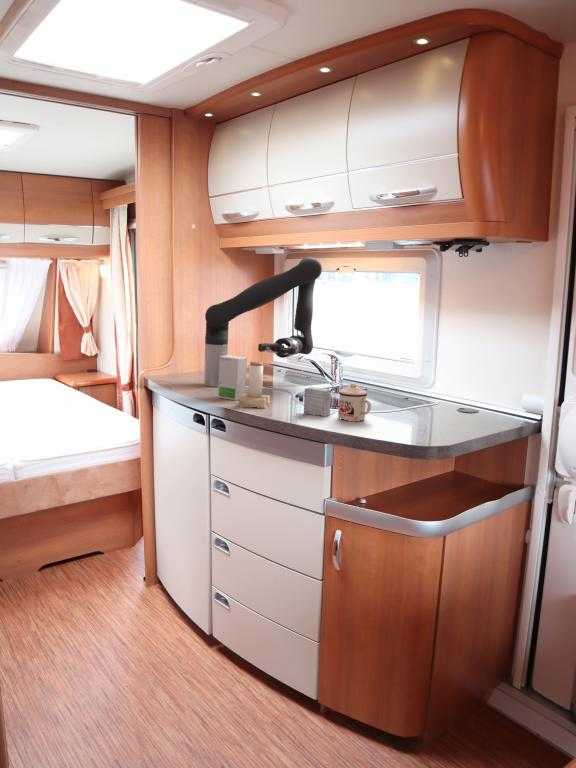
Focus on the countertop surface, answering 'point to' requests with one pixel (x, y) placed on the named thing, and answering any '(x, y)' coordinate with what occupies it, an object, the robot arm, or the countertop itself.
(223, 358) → the skincare box
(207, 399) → the countertop surface
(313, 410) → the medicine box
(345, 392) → the teacup with lid
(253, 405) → the plinth
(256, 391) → the spice jar
